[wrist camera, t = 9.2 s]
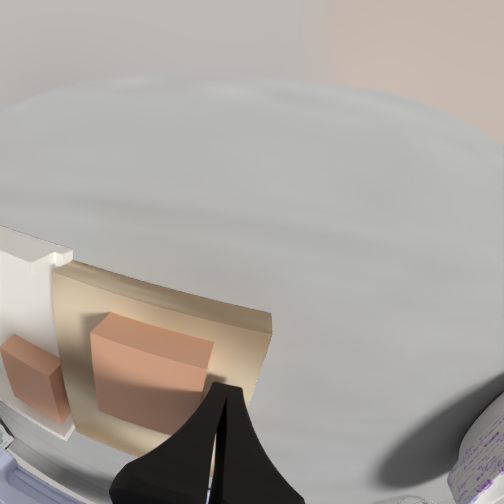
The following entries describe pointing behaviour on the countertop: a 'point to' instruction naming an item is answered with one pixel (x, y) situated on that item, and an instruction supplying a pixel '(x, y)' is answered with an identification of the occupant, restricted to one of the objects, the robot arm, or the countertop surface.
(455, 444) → the countertop surface
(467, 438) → the white purple patterned bowl
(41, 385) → the terracotta tile
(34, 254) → the bin
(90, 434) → the oak board
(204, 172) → the countertop surface
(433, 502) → the kitchen whisk
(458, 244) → the countertop surface
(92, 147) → the countertop surface
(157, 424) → the terracotta tile
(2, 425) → the candy bar box
